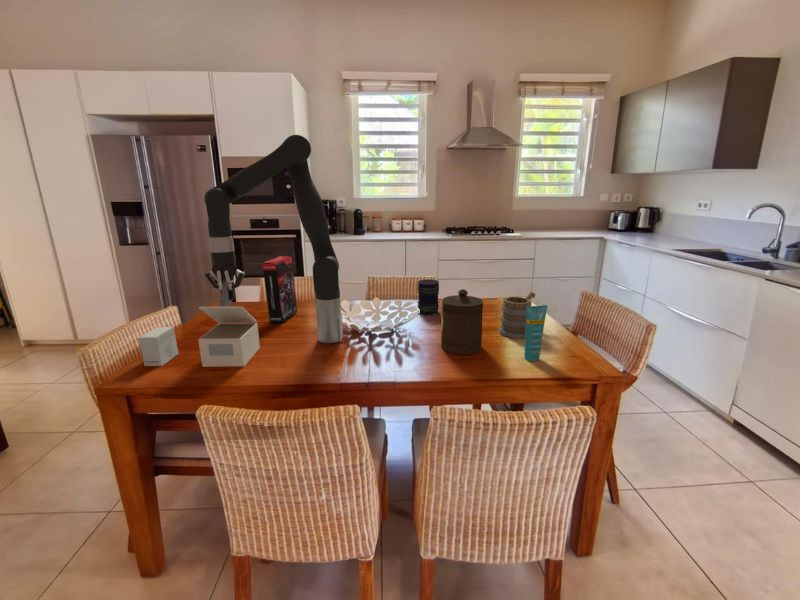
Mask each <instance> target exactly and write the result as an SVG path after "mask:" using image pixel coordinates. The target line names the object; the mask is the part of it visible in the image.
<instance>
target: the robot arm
mask: <svg viewBox="0 0 800 600" xmlns="http://www.w3.org/2000/svg"><path fill="white" fill-rule="evenodd" d="M311 153H312V146H311V143H310V141H309V139H307V138H306V137H305V136H304V135H301V134H292V135H289V136H288V137H287V138H286V139H285V140H284V141H283V142H282V143H281V144H280V145H279V146H278V147H277V148H276V149H275V150H273V151H272V152H270V153H269V154H268V155H266V156H264V157H262V158H261V159H259V160H257V161H256V162H254V163H253V162H252V164H250V165H248V166H246V167H245V168H242V169H241V170H239V171H238V172H236V173H235V174H233V175H231V176H230V177H228V179H227V180H225V181H222V182H221V183H218V184H217V185H215V186H214V187H212V188H210V189H208V190H207V191H206V192H205V194H204V198H203V200H204V203H205V208H206V213H207V219H208V220H207V229H208V237H209V239H208V241H209V245H208V246H209V252H210V261H211V269H210V271H208V272H206V273H205V274H204V276H205V277H206V279H207V280H208V281H209V283H210V284H211V286H212V287H213V288H214V289H217V290H219V291H220V294H221V292H222V285H223V280H226V282H227V284H228V289H229V290H228V293H229V300H231V301H234V299H235V298H236V295H235V294H236V291H235V289H236V288H239V287H240V286H241V284H242V281H243V279H244V278H245V275H246V272H245V271H241V270H240V269H239V268H238V266H237V258H236V252H235V251H236V250H235V244H234V243H235V242H234V238H233V232H232V231H233V230H232V224H231V218H230V213H231V211H230V209H231V207H230V204H231V203H234V202H235V201H236V200H238V199H240V198H242V197H245V196H247V195H248V194H250V193H251V192H252V191H254V190H256V189H257V188H259V187H261V185H263V184H264V183H266V182H267V181H268V180H270V179H271V178H272V177H274V176H275V175H277V174H278V173H280V172H281V171H283V170H285V169H286V171H287V173H288V176H289V179H290V182H291V186H292V192H293V195H294V196H293V197H294V201H295V204H296V209H297V213H298V216H299V219H300V220H299V221H300V222H301V225H302V228H303V229H304V232H305V234H306V236H307V237H308V240H309V241H310V245H311V247H312V252H313V258H314V262H313V265H312V280H313V291H314V294H315V296H314V297H315V306H316V307H315V309H316V311H315V312H316V323H317V326H316V327H317V338H318V340H317V341H318V342H320V343H323V344H333V343H340V342H342V340H343V337H344V331H343V327H344V326H343V314H342V309H341V308H342V307H341V290H340V283H339V269H340V263H339V259H338V257H337V255H336V252H335V250H334V248H333V247H334V246H333V243H332V242H331V237H330V231H329V224H328V221H327V215H326V212H325V208H324V203H323V200H322V197H321V195H320V193H319V191H318V189H317V187H316V185H315V183H314V181H313V179H312V175H311V172H310V167H309V163H308V162H309V161H308V159H309V158H310V156H311ZM215 276H216V277H215ZM235 276H236V277H237V278H236V280H235ZM216 278H217V279H216Z"/></svg>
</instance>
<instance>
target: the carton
mask: <svg viewBox="0 0 800 600" xmlns="http://www.w3.org/2000/svg"><path fill="white" fill-rule="evenodd" d="M198 346H199V353H200V354H199V355H200V360H201V366H202V367H203V368H204V367H208V368H209V367H211V368H212V367H214V368H215V367H246V365H247V364H248V362H250V360H252V358H253V357H254V356H255V354H256V353H257V352H258V351H259V350H260V348H261V346H260V336H259V327H258V323H257V322H218V324H215V326H213V327H212V328H211V329H210V330H209V331H207V332H206V333H204V334H203V335H202V336H201V337H200V338H198Z"/></svg>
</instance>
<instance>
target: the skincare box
mask: <svg viewBox="0 0 800 600" xmlns="http://www.w3.org/2000/svg"><path fill="white" fill-rule="evenodd" d="M138 342H139V347H140V353H141V356H142V361H143V365H144V367H163V366H164V365H165V364H167V363H168V362H169V361H171V360H172V359H174V358H175V357H177V356H178V355H180V353H179V349H178V344H177V339H176V333H175V329H174V326H159V327H158V326H157V327H155V328H153V329H152V330H149V331H148V332H146V333H144V334H143V335H141V336H139V337H138Z"/></svg>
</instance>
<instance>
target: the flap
mask: <svg viewBox="0 0 800 600" xmlns="http://www.w3.org/2000/svg"><path fill="white" fill-rule="evenodd" d="M228 290H229V289H228V284H227V282H226V280H223V285H222V292H221V293H220V299H219V303H218V306H217V305H216V306H215V305H214V306H199V307H198V309H199V310H200V311H202V312H204V313H205V314H207V316H209V317H210V318H212V320H214V321H215V322H217V323H257V319H256V318H255V317H254V316H253V315H252V314H250V313H249V312H248V311H247V310H246V308H244V307H243V306H242V305H241V306H238V305H236V306H235V305H232V300H229V293H228ZM231 305H232V306H231Z"/></svg>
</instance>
